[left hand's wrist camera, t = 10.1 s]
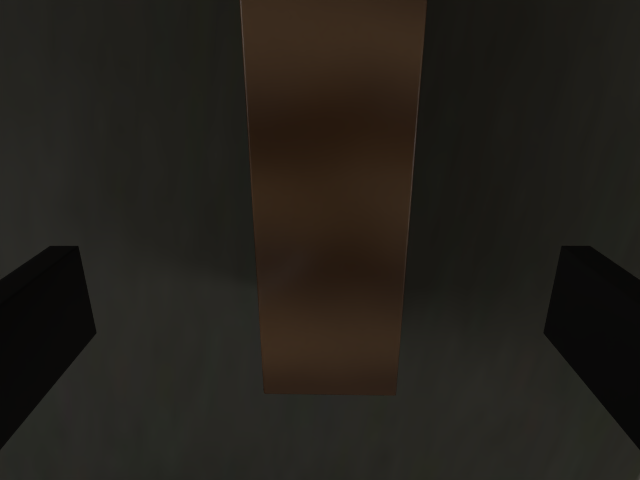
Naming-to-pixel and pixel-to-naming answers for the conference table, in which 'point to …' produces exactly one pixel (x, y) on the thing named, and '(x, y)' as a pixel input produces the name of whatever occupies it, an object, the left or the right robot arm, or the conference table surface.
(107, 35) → the conference table surface
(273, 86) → the beam
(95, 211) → the conference table surface
